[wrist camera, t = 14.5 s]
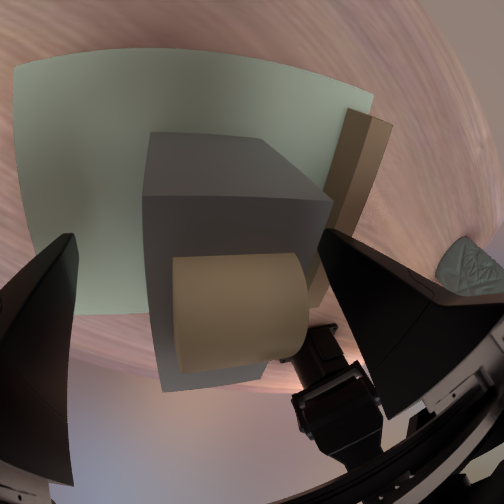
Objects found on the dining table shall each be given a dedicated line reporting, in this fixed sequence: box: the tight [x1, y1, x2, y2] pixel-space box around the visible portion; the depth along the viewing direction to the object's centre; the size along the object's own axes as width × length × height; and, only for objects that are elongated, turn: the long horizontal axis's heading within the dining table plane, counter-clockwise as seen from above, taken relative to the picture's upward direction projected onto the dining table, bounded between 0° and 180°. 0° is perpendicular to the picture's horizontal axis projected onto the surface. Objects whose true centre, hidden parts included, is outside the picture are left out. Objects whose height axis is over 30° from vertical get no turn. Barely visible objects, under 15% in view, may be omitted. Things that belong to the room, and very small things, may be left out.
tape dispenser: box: [142, 132, 334, 392], centre depth 9 cm, size 8×4×7 cm, turn 169°
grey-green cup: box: [436, 237, 504, 296], centre depth 30 cm, size 10×10×12 cm
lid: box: [13, 48, 393, 315], centre depth 10 cm, size 12×14×3 cm
